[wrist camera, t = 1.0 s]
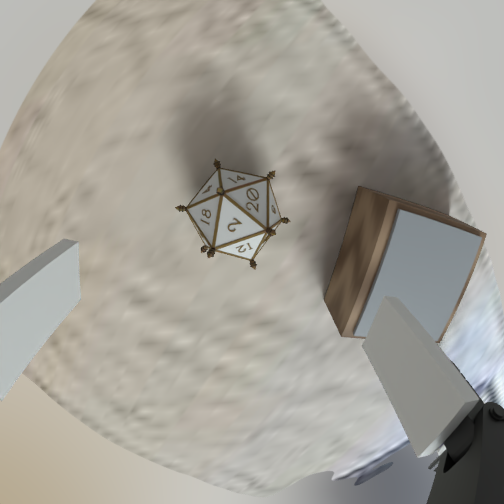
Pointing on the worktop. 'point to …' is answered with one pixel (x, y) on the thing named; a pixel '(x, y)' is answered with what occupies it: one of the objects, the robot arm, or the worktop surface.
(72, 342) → the worktop surface
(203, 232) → the game die
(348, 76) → the worktop surface
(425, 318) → the walnut base block
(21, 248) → the worktop surface
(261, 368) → the worktop surface
